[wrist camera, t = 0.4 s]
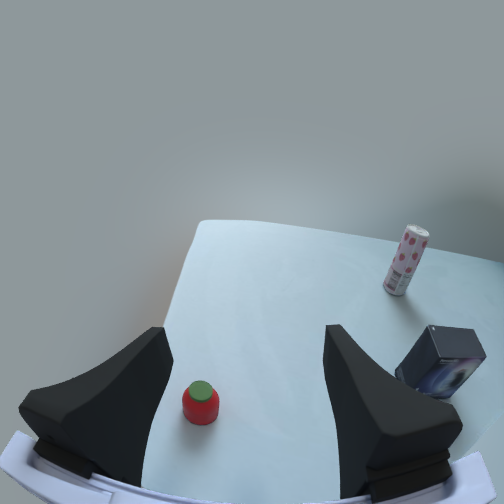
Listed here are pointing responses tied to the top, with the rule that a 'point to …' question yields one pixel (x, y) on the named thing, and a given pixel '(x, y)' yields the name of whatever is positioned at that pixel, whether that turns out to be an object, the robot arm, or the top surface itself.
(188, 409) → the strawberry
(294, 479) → the top surface
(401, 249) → the beverage can
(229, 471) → the top surface
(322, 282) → the top surface
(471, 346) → the small box
